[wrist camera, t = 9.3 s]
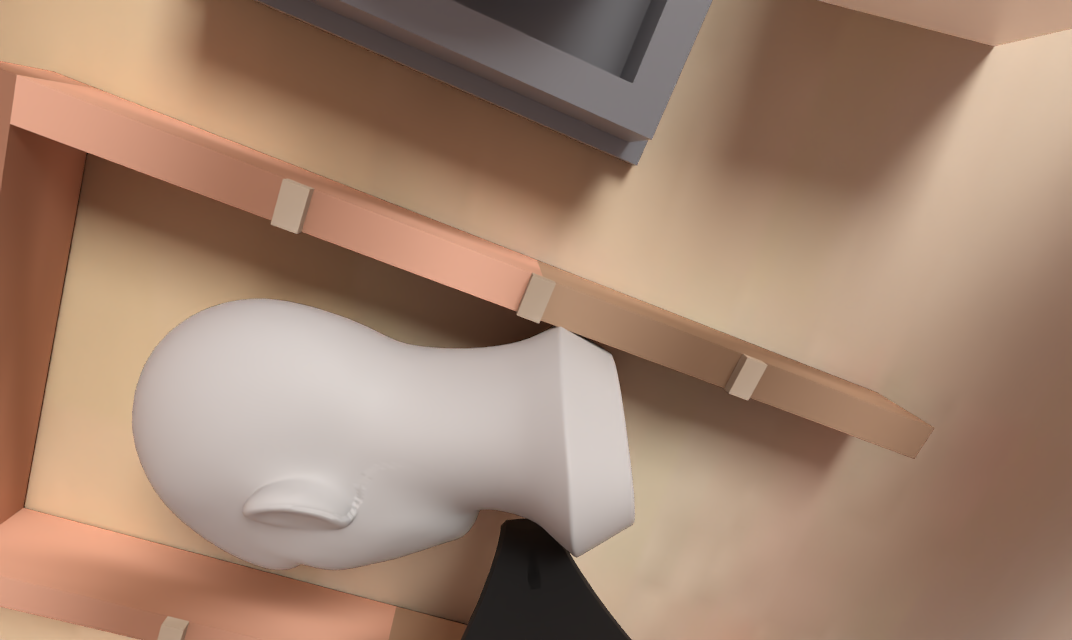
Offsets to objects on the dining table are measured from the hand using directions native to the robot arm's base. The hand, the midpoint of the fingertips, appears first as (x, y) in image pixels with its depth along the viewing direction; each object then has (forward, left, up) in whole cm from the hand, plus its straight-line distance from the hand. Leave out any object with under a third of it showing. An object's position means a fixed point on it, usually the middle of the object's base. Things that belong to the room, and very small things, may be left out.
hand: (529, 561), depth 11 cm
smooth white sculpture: (+3, -2, -2) cm, 4 cm away
